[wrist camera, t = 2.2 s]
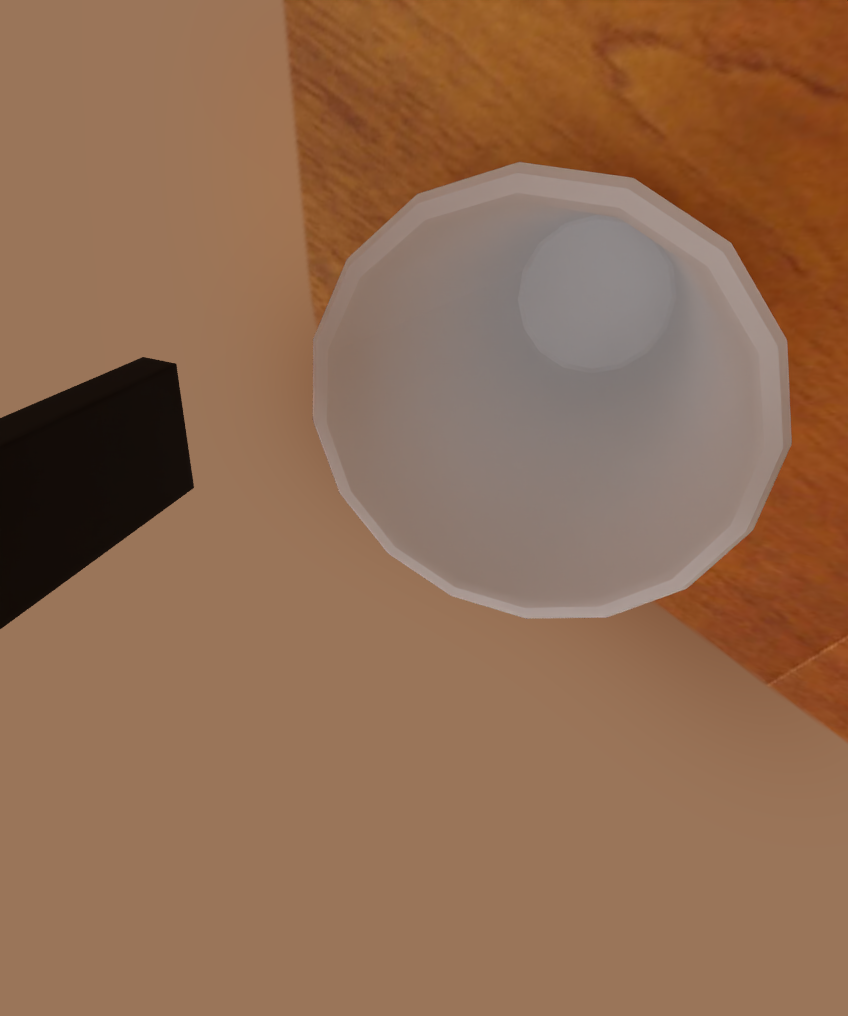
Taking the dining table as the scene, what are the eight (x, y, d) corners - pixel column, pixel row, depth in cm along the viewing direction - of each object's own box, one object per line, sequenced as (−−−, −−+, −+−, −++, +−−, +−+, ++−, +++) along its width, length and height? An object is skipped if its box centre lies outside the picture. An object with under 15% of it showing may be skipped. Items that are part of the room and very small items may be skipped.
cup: (658, 460, 26) (636, 689, 16) (434, 363, 28) (275, 517, 17) (811, 202, 21) (936, 293, 10) (520, 95, 22) (360, 75, 11)
